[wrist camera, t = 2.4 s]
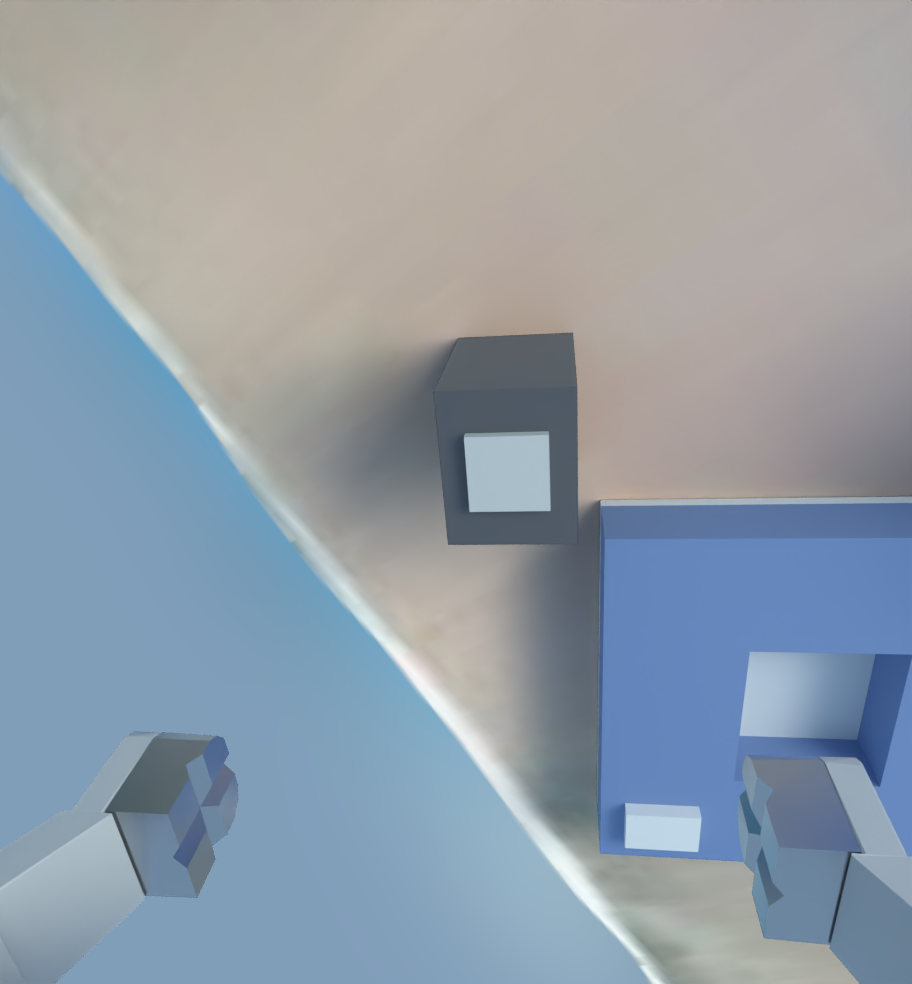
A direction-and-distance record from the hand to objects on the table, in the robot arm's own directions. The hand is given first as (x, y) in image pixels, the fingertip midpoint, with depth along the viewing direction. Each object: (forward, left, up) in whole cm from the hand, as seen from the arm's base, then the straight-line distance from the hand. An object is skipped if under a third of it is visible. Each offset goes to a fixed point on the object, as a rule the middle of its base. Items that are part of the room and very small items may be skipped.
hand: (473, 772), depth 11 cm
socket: (+12, +11, -17) cm, 24 cm away
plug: (0, 0, -17) cm, 17 cm away
